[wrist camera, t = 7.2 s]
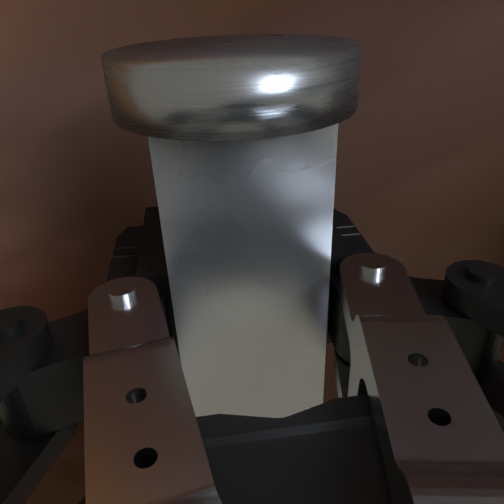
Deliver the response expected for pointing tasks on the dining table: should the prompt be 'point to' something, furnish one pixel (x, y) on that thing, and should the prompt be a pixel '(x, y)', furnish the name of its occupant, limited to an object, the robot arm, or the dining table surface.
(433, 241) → the dining table surface
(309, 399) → the shaft
